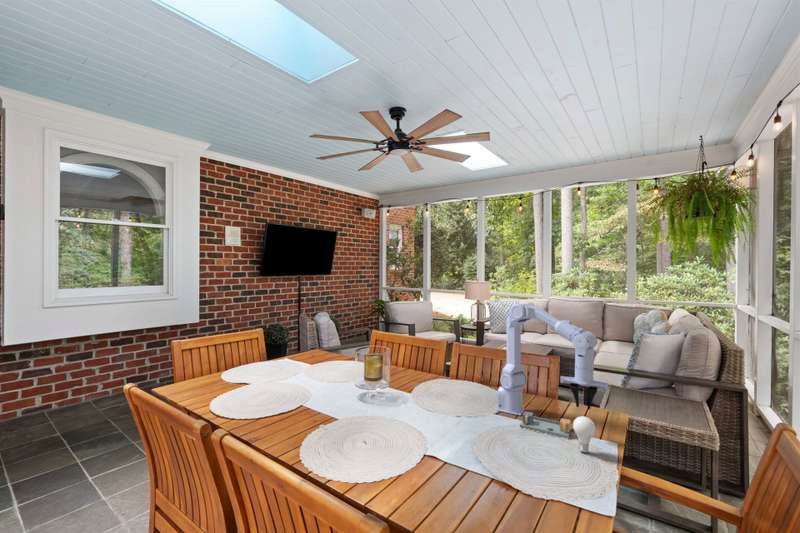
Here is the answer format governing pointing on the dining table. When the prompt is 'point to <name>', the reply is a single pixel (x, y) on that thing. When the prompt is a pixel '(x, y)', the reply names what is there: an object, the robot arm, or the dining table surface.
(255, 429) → the dining table surface
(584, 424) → the lightbulb
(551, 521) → the dining table surface
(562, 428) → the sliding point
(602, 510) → the dining table surface
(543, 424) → the gauge board
